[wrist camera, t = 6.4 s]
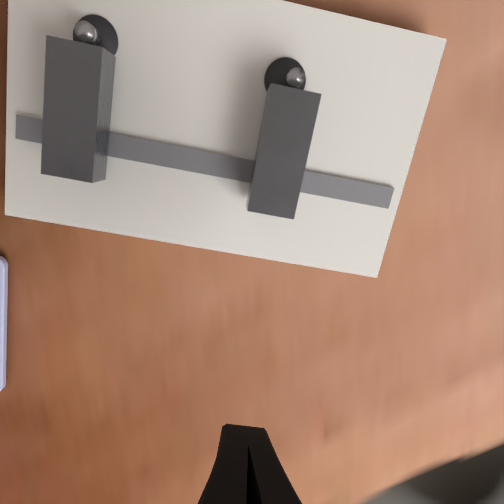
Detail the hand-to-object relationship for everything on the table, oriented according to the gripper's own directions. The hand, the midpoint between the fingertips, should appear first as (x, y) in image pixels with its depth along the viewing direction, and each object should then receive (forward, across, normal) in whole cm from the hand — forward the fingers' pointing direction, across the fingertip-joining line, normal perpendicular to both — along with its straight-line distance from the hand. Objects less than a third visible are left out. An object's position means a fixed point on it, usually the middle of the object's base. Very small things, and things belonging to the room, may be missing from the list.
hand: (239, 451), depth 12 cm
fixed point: (+7, +8, -10) cm, 15 cm away
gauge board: (+9, +2, -10) cm, 14 cm away
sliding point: (+7, 0, -10) cm, 12 cm away
